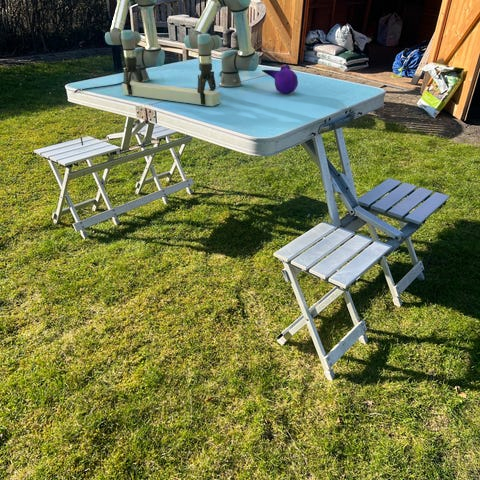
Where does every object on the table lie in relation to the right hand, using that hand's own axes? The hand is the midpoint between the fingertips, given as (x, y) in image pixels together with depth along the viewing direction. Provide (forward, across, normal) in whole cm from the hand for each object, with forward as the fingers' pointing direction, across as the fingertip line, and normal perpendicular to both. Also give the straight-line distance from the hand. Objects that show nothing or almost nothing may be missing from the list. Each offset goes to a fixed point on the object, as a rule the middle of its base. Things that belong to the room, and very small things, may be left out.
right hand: (207, 102), depth 272 cm
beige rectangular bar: (+1, 0, +29) cm, 29 cm away
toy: (+2, +50, -25) cm, 56 cm away
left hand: (0, 0, +58) cm, 58 cm away
